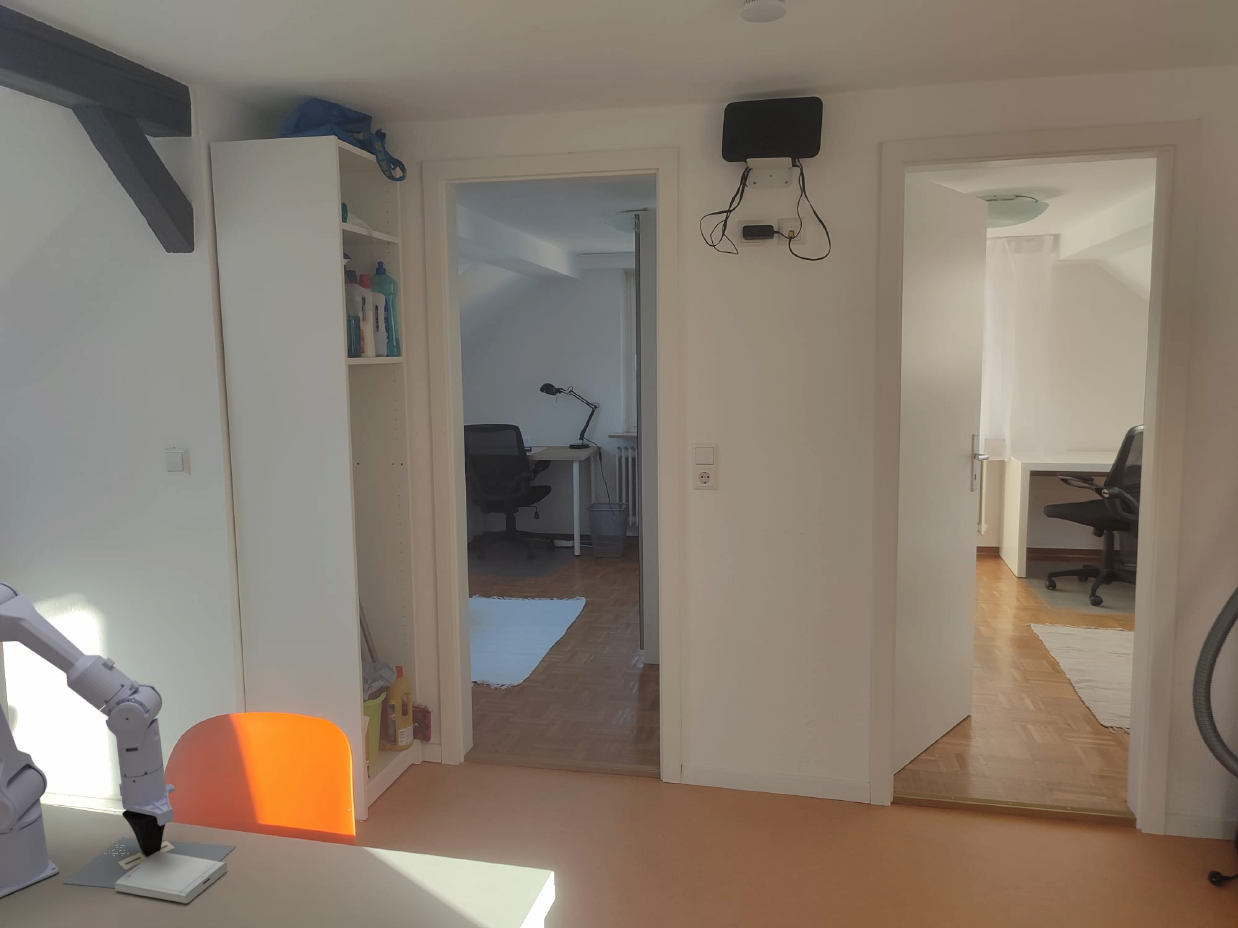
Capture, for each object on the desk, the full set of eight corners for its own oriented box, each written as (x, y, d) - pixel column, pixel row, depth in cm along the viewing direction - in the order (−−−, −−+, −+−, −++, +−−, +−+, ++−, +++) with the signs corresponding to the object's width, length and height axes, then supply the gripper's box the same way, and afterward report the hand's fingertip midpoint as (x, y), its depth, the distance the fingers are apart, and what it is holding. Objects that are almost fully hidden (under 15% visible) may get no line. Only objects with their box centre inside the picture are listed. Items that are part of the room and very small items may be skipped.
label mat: (63, 883, 129) (63, 882, 129) (122, 837, 141) (122, 836, 141) (185, 894, 125) (185, 893, 125) (235, 846, 137) (235, 845, 137)
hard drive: (114, 881, 126) (184, 893, 122) (158, 849, 134) (226, 860, 130) (115, 892, 126) (186, 904, 123) (160, 859, 134) (227, 870, 130)
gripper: (190, 771, 130) (199, 856, 132) (149, 745, 140) (158, 824, 141) (140, 790, 125) (150, 879, 127) (101, 762, 134) (111, 844, 136)
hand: (151, 852), depth 134 cm, fingers closed
